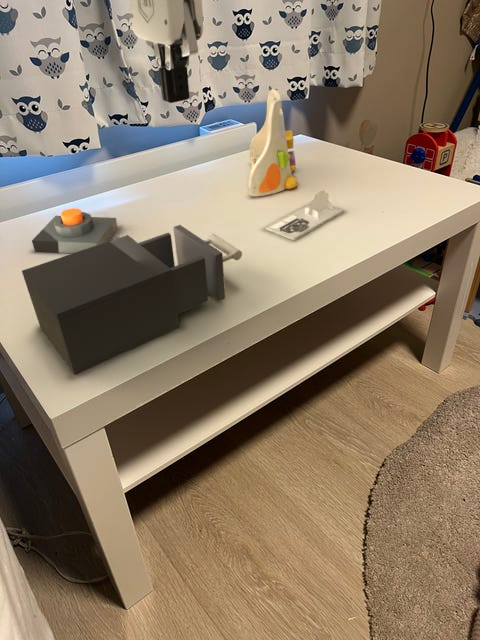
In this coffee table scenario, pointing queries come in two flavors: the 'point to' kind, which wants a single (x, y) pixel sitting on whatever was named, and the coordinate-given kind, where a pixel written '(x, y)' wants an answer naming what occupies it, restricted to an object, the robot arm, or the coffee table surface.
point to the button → (72, 216)
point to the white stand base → (305, 218)
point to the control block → (74, 234)
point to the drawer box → (102, 301)
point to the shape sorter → (272, 153)
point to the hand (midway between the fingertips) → (176, 99)
